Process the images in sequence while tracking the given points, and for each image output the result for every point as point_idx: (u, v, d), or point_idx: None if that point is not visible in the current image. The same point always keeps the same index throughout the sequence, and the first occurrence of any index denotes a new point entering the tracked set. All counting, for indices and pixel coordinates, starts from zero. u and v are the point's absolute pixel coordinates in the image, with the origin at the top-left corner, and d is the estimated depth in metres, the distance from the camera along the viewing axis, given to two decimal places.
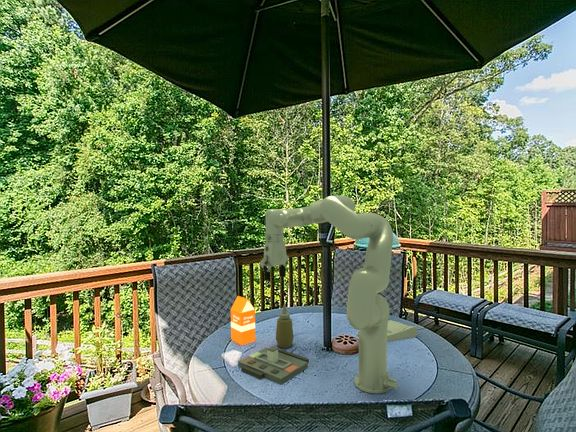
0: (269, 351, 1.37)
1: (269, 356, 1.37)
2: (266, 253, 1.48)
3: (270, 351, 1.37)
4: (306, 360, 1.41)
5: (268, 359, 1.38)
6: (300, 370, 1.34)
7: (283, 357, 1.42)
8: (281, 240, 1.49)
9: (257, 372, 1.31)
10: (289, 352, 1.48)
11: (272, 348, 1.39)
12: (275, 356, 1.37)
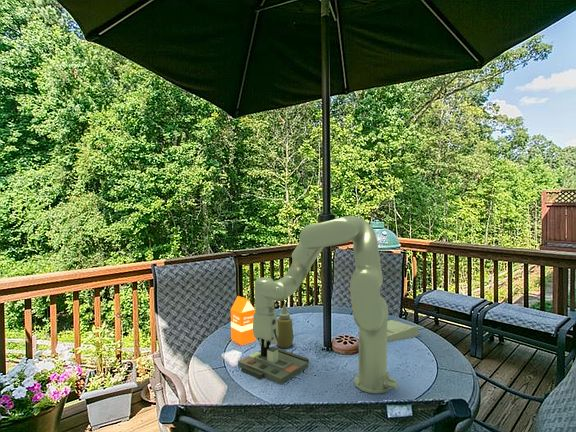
0: (269, 351, 1.37)
1: (269, 356, 1.37)
2: (274, 326, 1.37)
3: (270, 351, 1.37)
4: (306, 360, 1.41)
5: (268, 359, 1.38)
6: (300, 370, 1.34)
7: (283, 357, 1.42)
8: None
9: (257, 372, 1.31)
10: (289, 352, 1.48)
11: (272, 348, 1.38)
12: (275, 356, 1.37)
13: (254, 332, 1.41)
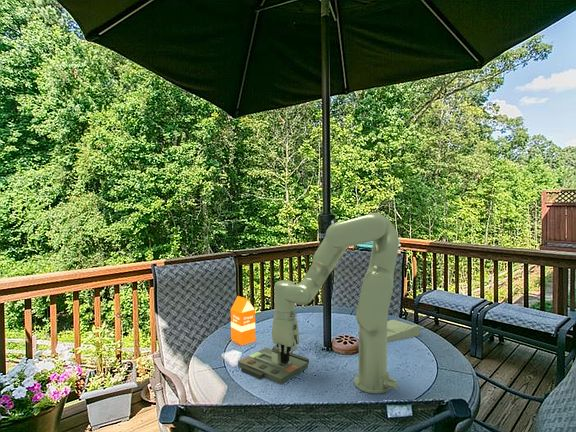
0: (274, 353, 1.36)
1: (274, 357, 1.36)
2: (295, 332, 1.31)
3: (275, 353, 1.36)
4: (306, 360, 1.41)
5: (272, 361, 1.36)
6: (300, 370, 1.34)
7: None
8: None
9: (257, 372, 1.31)
10: (289, 352, 1.48)
11: (277, 350, 1.37)
12: (279, 357, 1.36)
13: (273, 338, 1.35)
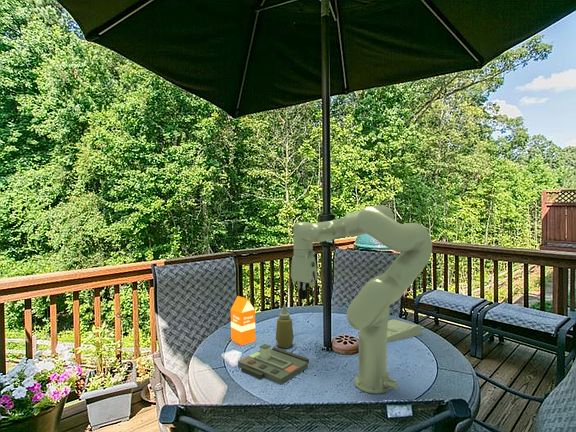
0: (261, 348, 1.40)
1: (262, 353, 1.40)
2: (313, 268, 1.39)
3: (262, 348, 1.40)
4: (306, 360, 1.41)
5: (261, 356, 1.40)
6: (300, 370, 1.34)
7: (283, 357, 1.42)
8: None
9: (257, 372, 1.31)
10: (289, 352, 1.48)
11: (264, 345, 1.41)
12: (267, 353, 1.40)
13: (292, 276, 1.43)
